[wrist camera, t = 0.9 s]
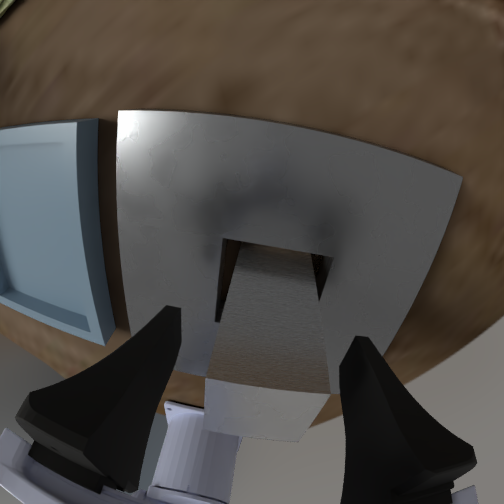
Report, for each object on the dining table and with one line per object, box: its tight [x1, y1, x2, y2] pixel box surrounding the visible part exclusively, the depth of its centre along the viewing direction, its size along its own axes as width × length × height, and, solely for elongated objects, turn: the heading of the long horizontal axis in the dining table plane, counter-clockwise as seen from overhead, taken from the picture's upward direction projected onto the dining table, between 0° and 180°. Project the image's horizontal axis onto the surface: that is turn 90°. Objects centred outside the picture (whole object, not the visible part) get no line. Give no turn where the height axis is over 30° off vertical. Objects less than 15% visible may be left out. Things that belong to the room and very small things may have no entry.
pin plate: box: [116, 109, 463, 394], centre depth 15 cm, size 16×16×2 cm
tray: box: [0, 118, 116, 346], centre depth 15 cm, size 15×13×2 cm
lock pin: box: [203, 241, 331, 442], centre depth 12 cm, size 4×4×9 cm
